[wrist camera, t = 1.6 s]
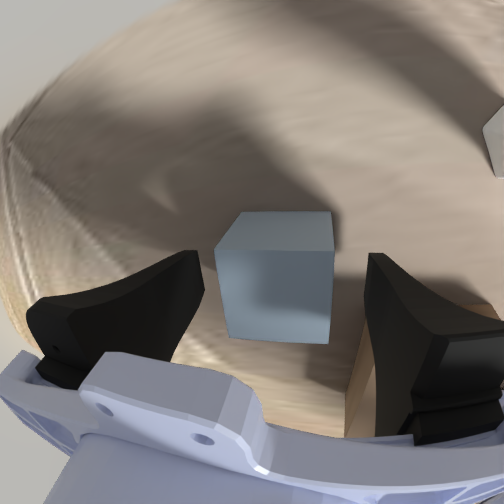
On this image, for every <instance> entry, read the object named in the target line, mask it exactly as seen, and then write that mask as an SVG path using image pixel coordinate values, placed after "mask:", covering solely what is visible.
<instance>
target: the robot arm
mask: <svg viewBox="0 0 504 504" xmlns="http://www.w3.org/2000/svg"><path fill="white" fill-rule="evenodd" d="M204 291H205V288H204V283H203V278H202V273H201V267H200V262H199V257H198V252H197V250H184V251H181V252H178V253H176V254H174V255H172V256H169V257H167V258H165V259H163V260H161V261H159V262H158V263H156V264H154V265H152V266H150V267H148V268H145V269H143V270H141V271H139V272H137V273H135V274H133V275H131V276H128V277H126V278H124V279H121V280H119V281H116V282H113V283H110V284H108V285H104V286H101V287H97V288H94V289H91V290H87V291H82V292H78V293H72V294H67V295H59V296H50V297H43V298H40V299H39V300H38V301H37V302H36V303H35V304H34V305H32V306H31V307H30V308H29V309H28V310H27V312H26V321H27V324H28V327H29V329H30V331H31V333H32V335H33V337H34V339H35V340H36V342H37V344H38V345H39V347H40V349H41V350H42V352H43V354H44V355H45V356H44V358H43V359H42V360H40V359H39V358H38V357H37V356H35V355H33V354H31V353H29V352H27V351H25V350H22V351H21V352H20V353H19V354H18V355H17V356H16V357H15V358H14V359H13V360H12V361H11V363H10V364H9V365H8V366H7V367H6V368H5V369H4V371H2V373H1V374H0V398H1V399H2V400H3V401H4V402H5V403H6V405H7V406H8V407H9V408H10V409H11V410H12V412H13V413H14V414H15V415H16V416H17V417H18V418H19V419H20V420H21V421H22V422H23V423H24V424H25V425H26V426H28V427H29V428H30V429H32V430H33V431H34V432H36V433H37V434H38V435H40V436H41V437H42V438H44V439H45V440H47V441H48V442H49V443H51V444H52V445H54V446H55V447H57V448H58V449H60V450H61V451H62V452H64V453H65V454H67V455H68V456H70V459H69V461H68V462H67V464H66V466H65V467H64V469H63V471H62V472H61V474H60V476H59V477H58V479H57V481H56V482H55V484H54V486H53V488H52V489H51V491H50V493H49V495H48V496H47V498H46V500H45V502H44V503H43V504H474V503H476V504H504V390H501V388H500V385H501V383H502V382H503V380H504V321H502V320H498V319H494V318H490V317H487V316H483V315H481V314H478V313H475V312H472V311H470V310H467V309H465V308H463V307H460V306H458V305H456V304H454V303H452V302H450V301H448V300H446V299H444V298H443V297H441V296H439V295H438V294H436V293H434V292H433V291H431V290H430V289H428V288H427V287H425V286H424V285H422V284H421V283H420V282H418V281H417V280H416V279H414V278H413V277H412V276H410V275H409V274H408V273H407V272H406V271H404V270H403V269H402V268H401V267H400V266H398V265H397V264H396V263H395V262H394V261H393V260H392V259H390V258H389V257H388V256H387V255H385V254H384V253H369V255H368V265H367V274H366V283H365V291H364V304H365V315H366V320H367V325H368V330H369V335H370V340H371V345H372V350H373V356H374V363H375V377H376V419H375V437H364V438H334V437H329V436H323V435H318V434H313V433H309V432H304V431H299V430H295V429H291V428H287V427H283V426H279V425H275V424H271V423H267V422H265V421H264V418H263V411H262V404H261V402H260V401H259V399H258V397H257V396H256V394H255V392H254V390H253V389H252V388H251V387H249V386H247V385H246V384H244V383H243V382H241V381H240V380H238V379H237V378H235V377H234V376H232V375H228V374H225V373H222V372H218V371H215V370H212V369H207V368H200V367H194V366H188V365H182V364H176V363H171V362H170V361H171V358H172V356H173V353H174V351H175V349H176V347H177V345H178V343H179V341H180V340H181V338H182V336H183V334H184V333H185V331H186V329H187V327H188V326H189V324H190V322H191V320H192V319H193V317H194V315H195V313H196V311H197V309H198V308H199V305H200V302H201V300H202V297H203V294H204Z"/></svg>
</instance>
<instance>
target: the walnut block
mask: <svg viewBox="0 0 504 504" xmlns="http://www.w3.org/2000/svg"><path fill="white" fill-rule="evenodd" d="M458 306H460V307H463V308H465V309H467V310H470V311H472V312H475V313H478V314H481V315H483V316H487V317H490V318H494V319H498V320H501V319H500V318H499V316H498V314H497V313H496V311H495V310H494V308H493V307H492V305H491V304H488V305H458ZM375 419H376V377H375V363H374V356H373V350H372V345H371V340H370V335H369V330H368V325H367V320H366V319H365V324H364V328H363V332H362V336H361V340H360V344H359V348H358V352H357V356H356V360H355V364H354V367H353V371H352V374H351V378H350V381H349V385H348V388H347V391H346V394H345V429H344V438H364V437H375Z"/></svg>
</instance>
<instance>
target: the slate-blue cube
mask: <svg viewBox="0 0 504 504" xmlns="http://www.w3.org/2000/svg"><path fill="white" fill-rule="evenodd" d="M214 255H215V261H216V267H217V273H218V279H219V285H220V291H221V297H222V302H223V308H224V314H225V319H226V325H227V330H228V335H229V338H236V339H248V340H260V341H275V342H292V343H316V344H328V341H329V331H330V320H331V308H332V294H333V277H334V257H335V249H334V238H333V227H332V218H331V211H263V212H241V213H240V215H239V216H238V217H237V219H236V220H235V221H234V223H233V224H232V225H231V227H230V228H229V229H228V231H227V232H226V233H225V235H224V236H223V238H222V239H221V240H220V242H219V243H218V244H217V246H216V247H215V248H214Z"/></svg>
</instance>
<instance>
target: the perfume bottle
mask: <svg viewBox="0 0 504 504" xmlns="http://www.w3.org/2000/svg"><path fill="white" fill-rule="evenodd" d="M483 135H484V138H485V141H486V145H487V148H488V151H489V155H490V158H491V162H492V166H493V170H494V174H495V176H496V177H497V178H499V179H504V105H503V106H502V107H501V108H500V109H499V110H498V111H497V113H496V114H495V115H494V116H493V117H492V118H491V119H490V120H489V121H488V122H487V123H486V124H485V125H484V127H483Z"/></svg>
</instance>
